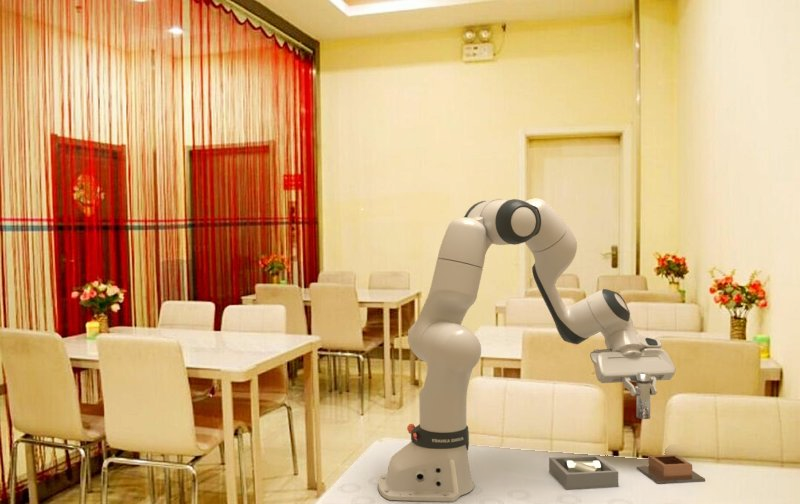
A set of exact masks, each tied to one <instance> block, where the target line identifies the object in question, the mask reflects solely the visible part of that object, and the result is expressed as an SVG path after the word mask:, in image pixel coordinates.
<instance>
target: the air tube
mask: <svg viewBox="0 0 800 504" xmlns="http://www.w3.org/2000/svg"><path fill="white" fill-rule="evenodd" d="M635 383H636V386H635V387H638V390H639V391H640V394H639V395H638V396H636V418H638V419H641V420H651V395H650V385H651V384H650V374H649V373H644V372H638V373H636V382H635Z"/></svg>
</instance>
